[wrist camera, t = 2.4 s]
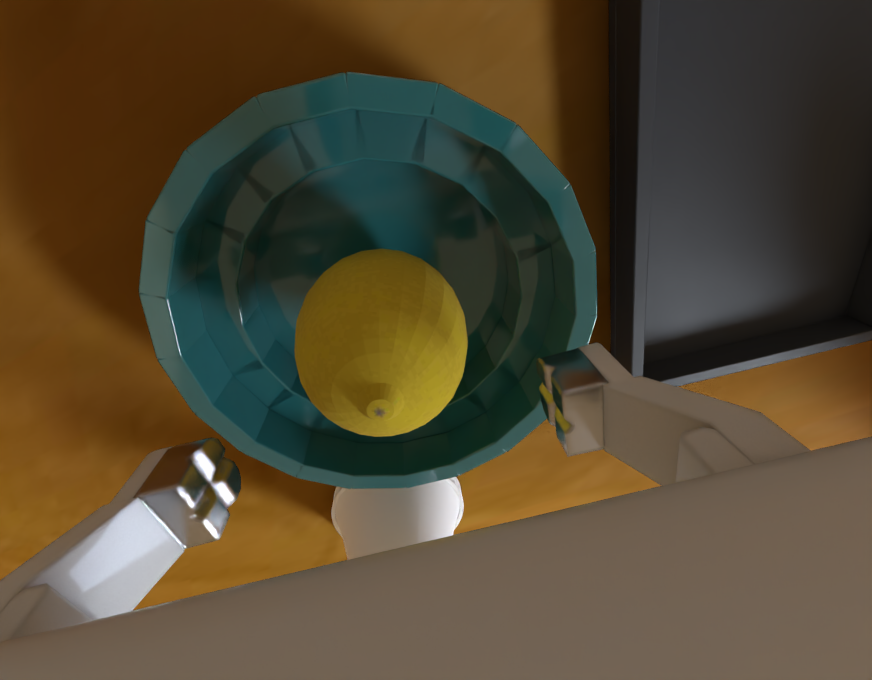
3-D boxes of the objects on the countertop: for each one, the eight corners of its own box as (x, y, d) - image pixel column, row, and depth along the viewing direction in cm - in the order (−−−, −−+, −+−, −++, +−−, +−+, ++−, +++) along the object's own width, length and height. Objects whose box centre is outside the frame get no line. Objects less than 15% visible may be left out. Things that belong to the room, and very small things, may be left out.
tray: (607, -165, 11) (646, -219, 10) (1036, -282, 11) (1157, -359, 9) (610, 375, 21) (630, 398, 19) (842, 319, 20) (885, 337, 19)
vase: (361, 551, 25) (345, 774, 17) (312, 473, 22) (258, 706, 13) (473, 521, 25) (516, 732, 16) (442, 436, 21) (476, 650, 13)
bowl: (124, 147, 14) (16, 156, 10) (533, 40, 13) (591, 6, 9) (290, 447, 21) (267, 522, 17) (561, 382, 20) (601, 443, 17)
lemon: (293, 256, 16) (211, 362, 9) (424, 204, 15) (451, 272, 8) (353, 365, 18) (329, 514, 11) (467, 324, 18) (514, 452, 11)
